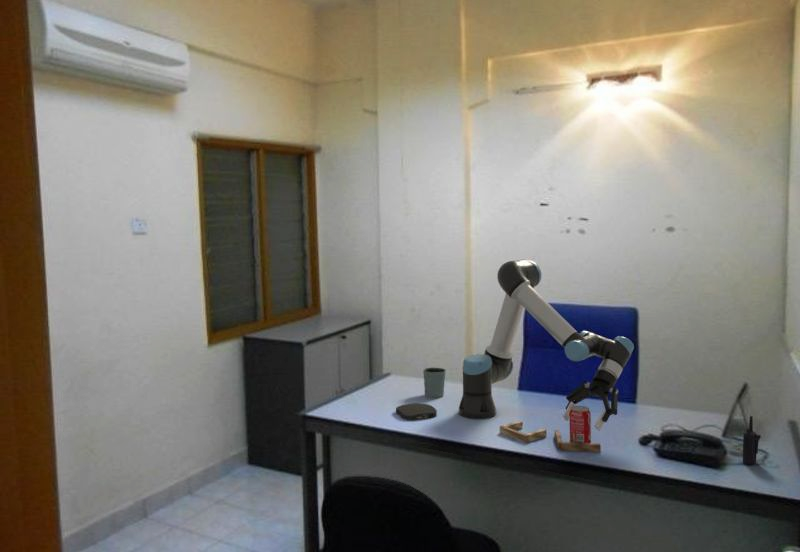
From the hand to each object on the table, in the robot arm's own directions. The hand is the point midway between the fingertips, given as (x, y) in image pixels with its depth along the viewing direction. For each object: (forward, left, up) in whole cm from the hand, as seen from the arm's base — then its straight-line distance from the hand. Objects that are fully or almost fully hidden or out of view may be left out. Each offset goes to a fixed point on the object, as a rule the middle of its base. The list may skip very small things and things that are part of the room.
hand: (580, 423), depth 211 cm
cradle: (-3, -5, -7) cm, 9 cm away
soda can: (0, -1, -7) cm, 7 cm away
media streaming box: (-67, +4, -8) cm, 68 cm away
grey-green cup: (-72, +32, -7) cm, 79 cm away
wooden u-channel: (-21, 0, -7) cm, 22 cm away
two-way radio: (+52, +7, -7) cm, 53 cm away
